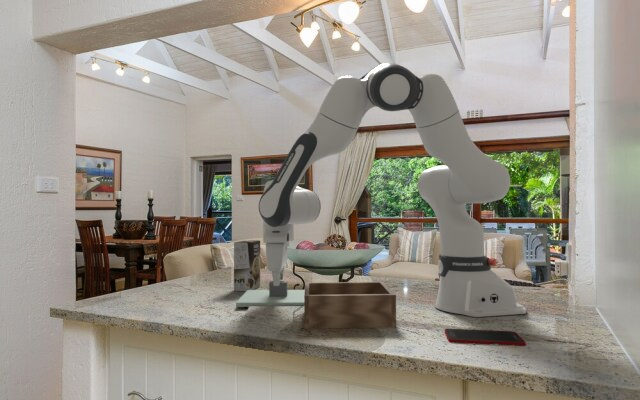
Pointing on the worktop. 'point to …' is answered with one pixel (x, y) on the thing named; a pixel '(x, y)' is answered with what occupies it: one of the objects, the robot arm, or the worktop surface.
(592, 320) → the worktop surface
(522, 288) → the worktop surface
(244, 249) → the coffee box
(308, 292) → the box
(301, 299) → the lid
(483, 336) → the cell phone
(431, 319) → the worktop surface
